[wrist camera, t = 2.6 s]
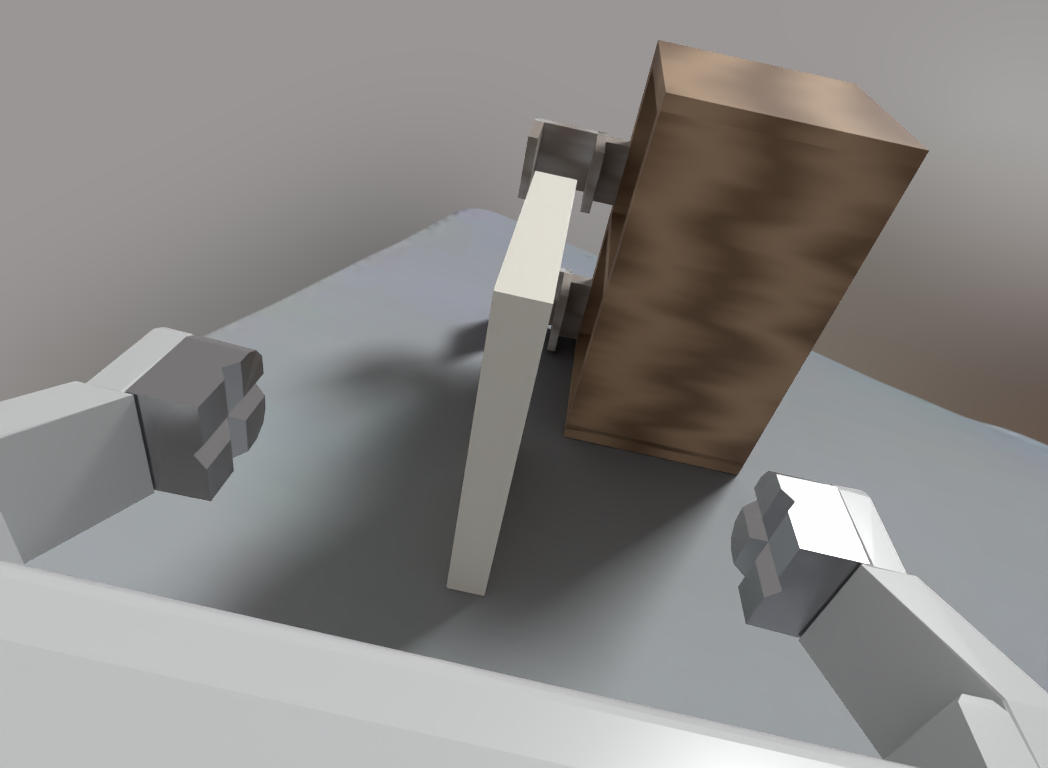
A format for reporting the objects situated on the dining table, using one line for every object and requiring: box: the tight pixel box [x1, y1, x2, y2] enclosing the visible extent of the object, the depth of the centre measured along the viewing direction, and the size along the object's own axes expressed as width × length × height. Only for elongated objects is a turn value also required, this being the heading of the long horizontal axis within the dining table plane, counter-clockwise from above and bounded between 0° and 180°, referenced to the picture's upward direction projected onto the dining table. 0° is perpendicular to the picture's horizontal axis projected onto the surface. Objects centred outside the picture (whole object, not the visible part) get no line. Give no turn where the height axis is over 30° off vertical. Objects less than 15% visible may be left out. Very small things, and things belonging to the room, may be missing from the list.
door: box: [446, 171, 577, 596], centre depth 30 cm, size 2×11×18 cm, turn 172°
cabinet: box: [518, 40, 929, 475], centre depth 39 cm, size 18×13×22 cm
